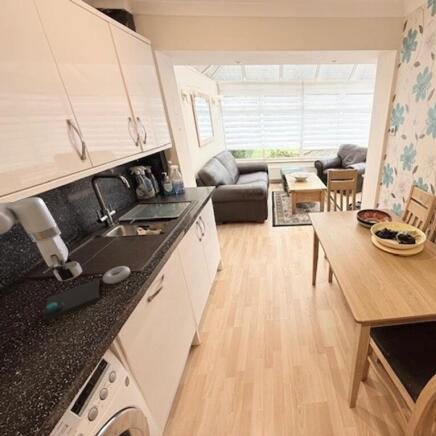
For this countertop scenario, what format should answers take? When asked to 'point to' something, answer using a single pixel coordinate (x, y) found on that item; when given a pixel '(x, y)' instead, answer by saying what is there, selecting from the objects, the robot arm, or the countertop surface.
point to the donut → (116, 275)
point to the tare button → (52, 306)
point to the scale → (72, 299)
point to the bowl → (74, 269)
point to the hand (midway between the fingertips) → (69, 273)
